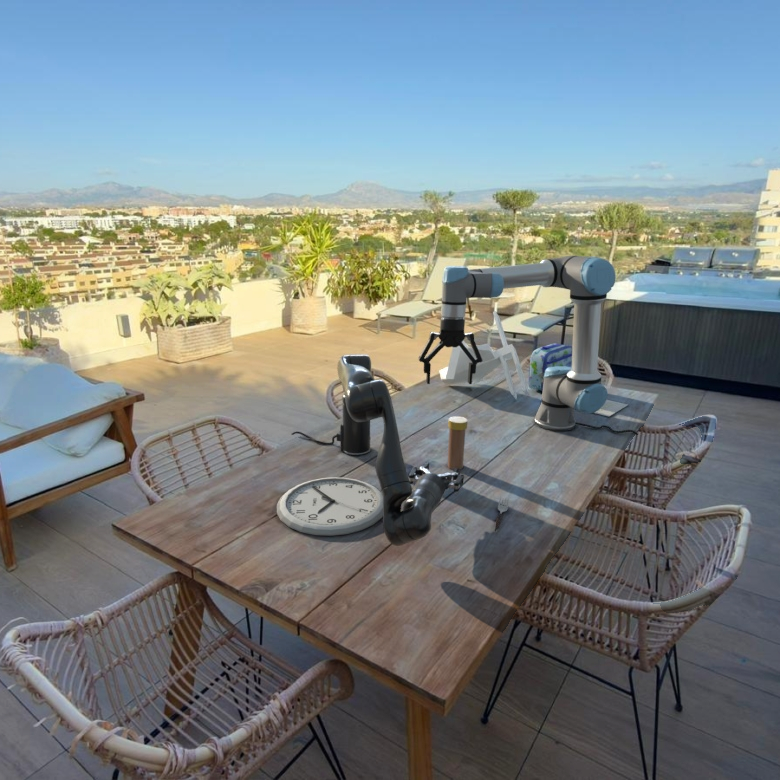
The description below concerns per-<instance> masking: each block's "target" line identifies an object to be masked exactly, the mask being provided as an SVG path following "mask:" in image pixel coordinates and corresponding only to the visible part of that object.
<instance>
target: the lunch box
mask: <svg viewBox="0 0 780 780" xmlns="http://www.w3.org/2000/svg"><path fill="white" fill-rule="evenodd" d="M572 347H573V346H571V345H566V344H560V343H551V344H548V345H544V346H541V347H538V348H536V349H534V350H533V351H532V353H531V355H530V359H529V370H528V371H529V372H528V389H531V390H536V391H541V392H543V381H544V374H545V370H546V369H547V368H549V367H556V366H565V367H572Z"/></svg>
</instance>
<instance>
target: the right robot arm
mask: <svg viewBox="0 0 780 780" xmlns="http://www.w3.org/2000/svg"><path fill="white" fill-rule="evenodd" d="M616 276H617V275H616V270H615V267H614V265H613V264H612V263H611V262H610V261H609V260H607V259H605V258H601V257H597V256H586V255H585V256H583V255H567V256H560V257H556V258H549V259H547V258H546V259H543V260H541V261H540V262H537V263H526V264H515V265H504V266H503V265H502V266H494V267H482V268H472V269H471V268H470V269H469V268H468V267H467V266H458V265H455V266H454V265H449V266H445V268H444V269H443V274H442V281H441V282H442V286H441V287H442V289H441V290H442V291H441V308H440V316H441V318H440V326H439V331H438V332H434V331H429V332H430V333H429V336H428V340H427V341H426V343H425V345H424V347H423V349H422V350H421V352H420V354H419V356H418V357H417V358H418V361H419V362H420V363H423V373H424V374H426V380H425V381H426V385H430V384H431V367H432V365H431V361H432V360H433V358H435V357H436V355H438V353H439V352H440V351H441V350H442V349H443V348H444V347H446V348H453V347H458V346H460V347H461V349H462V350H463V351H464V352H465V354H466V355H467V356H468V358H469V359H470V360H471V361H472V363H469V370H468V385H472V384H473V382H472V374H475V372H476V364H477V363H479V362H482V358H481V355H480V353H479V351H478V348H477V346H478V345H477V344H476V341H475V334H474V333H473V332H471V331H470V332H468V333H465V325H466V319H465V317H466V310H467V309H466V308H467V299H485V298H486V299H493V298H499V297H500V296H501V295H502V294H503V291H504V290H505V289H516V288H524V287H525V288H526V287H535V286H541V287H542V288H558V289H559V288H560V289H564V290H568V291H569V299H570V300H571V302H572V303H573V305H574V306H573V324H572V325H573V326H572V327H573V328H572V346H571V347H572V364H571V367H565V366H556V367H549V368H547V369H546V370H545V374H544V381H543V391H541V392H542V394H541V402H540V405H539V407H538V410H537V411H536V413H535V415H534V424H535V425H536V426H537V427H539V428H542V429H544V430H549V431H556V432H567V431H572V430H574V429H575V428H576V425H577V426H581V427H586V428H588V429H589V428H590V429H593V430H601V429H603V428H604V429H605V428H606V429H608V430H609V432H611V433H614V434H624V433H632V434H634V435H636V436H639V433H638V432H637V431H635V430H633V429H623V430H615V429H613V428H612V427H611V426H609V425H607V424H603V425H600V426H593V425H591V424H586V423H582V422H577V421H576V418H575V417H576V416H575V413H574V409H575V410H576V411H577V412H579V413H583V414H587V415H590V414H595V413H594V412H596V411H598V410H599V409H600V408H601V407H602V406H603V405H604V404H605V402H606V400H608V389H607V388H606V386H605V385H604V384H602V374H601V373H600V372H599V371H598V365H599V364H598V363H599V347H600V330H601V316H602V315H601V314H602V313H601V312H602V303H603V302H604V301H605V300H607V298H608V297H607V295H608V293H610V292H611V290H612V288H613V287H614V286H615V285H616V279H617V278H616ZM437 338H438V339H439V341H438V343H437V344H436V345H435V347H434V348H433V349H432V350H431V351H430V349H431V347H432V346H433V344H434V341H436V340H437ZM465 339H466V340H467V341H469V343H470V347H472V349H473V351H474V353H475V356H476V358H475V359H474V358H473V356H472V355H471V354H470V352H469V351H468V350H467V348H466V347H465V346H464V345H463V343H462V341H463V340H464V341H465ZM429 351H430V352H429Z"/></svg>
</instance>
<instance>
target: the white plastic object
mask: <svg viewBox="0 0 780 780" xmlns="http://www.w3.org/2000/svg"><path fill="white" fill-rule="evenodd" d="M492 315H493V319H494V321H495V324H496V325H495V326H496V328H497V332H498V335H499V338H500V342H501V345H502V347H500V348H498V349H496V350H495V349H493V348H492V347H491V346H490V344H489V343H488V342H487V343H483V344H479V345H476V346H477V348H478V351H479V353H480V355H481V358H482V362H479V363H477V364H476V372H475V374H472V383H473V384H477V383H480V382H482V381H484V378H485V377H486V376H487V375H489V374H490V373H492V372H494V371H495V370H496V369H497V368H499V367H500V366H502V370H503V373H504V376H505V380H506V383H507V386H508V390H509V393H510V394H511V395H512V397H513V398H514V399H515V400H517V392H516V391H517V390H516V388H515V385H514V381H513V378H512V375H511V371H510V369H509V365H508V361H510V360H513V363H514V366H515V369H516V372H517V376H518V380H519V382H520V385H521V389H522V391H523V393H524V395H525V396H526V397H528V396H531V395H530V390H529V386H528V384H527V381H526V378H525V375H524V371H523V369H522V368H523V367H522V366H521V362H520V359H519V355H518V352H517V349H516V347H515V346H514V345H513V343H511V344H508V341H507V337H506V334H505V331H504V328H503V325H502V321H501V318H500V315H499V314H498V312H497V311H496V310H495V311H492ZM462 343H463V345H464V346H465V347H466V348H467V350H468V351H469V352H470V354H471V355H472V356H473V358H474V359H475V358H476V356H475V353H474V351H473V349H472V346H469V345H468V343H466V342H465V339H464V340H463V341H462ZM451 348H452V349H451V353H450V357H449V362H448V366H446V367H444V368H442V369H440V370H439V371H438V372H439V376H440V381H442V383H443V384H444V385H445V386H449V385H458V384H467V383H468V370H469V363H472V361H471V360H470V359H469V358H468V356H467V355H466V354H465V352H464V351H463V350H462V349H461V347H460V346H458V347H451ZM468 384H469V383H468Z"/></svg>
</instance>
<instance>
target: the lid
mask: <svg viewBox="0 0 780 780" xmlns="http://www.w3.org/2000/svg"><path fill="white" fill-rule="evenodd" d="M447 427H448V428H449V430H450V429H453V430H465V431H466V430H467V428H468V418H466V417H463V416H460V415H459V416H455V415H454V416H450V417H448V422H447Z"/></svg>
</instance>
